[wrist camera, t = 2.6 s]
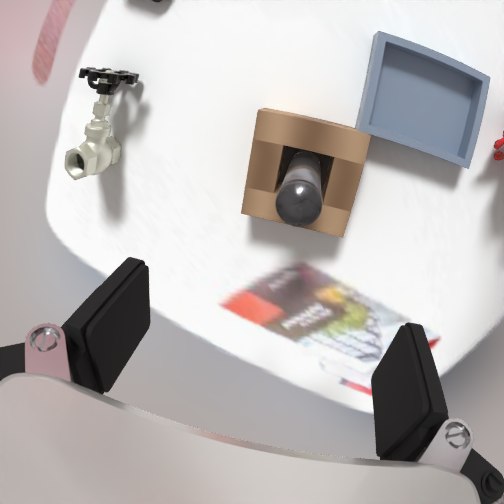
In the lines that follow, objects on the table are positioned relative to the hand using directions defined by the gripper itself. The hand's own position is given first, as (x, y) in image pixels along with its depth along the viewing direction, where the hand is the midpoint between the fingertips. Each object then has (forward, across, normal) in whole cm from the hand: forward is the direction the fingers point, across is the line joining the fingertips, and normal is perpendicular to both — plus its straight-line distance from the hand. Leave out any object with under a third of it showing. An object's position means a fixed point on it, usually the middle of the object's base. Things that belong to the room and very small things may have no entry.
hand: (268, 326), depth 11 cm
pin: (+24, 0, -1) cm, 24 cm away
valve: (+24, +22, -2) cm, 33 cm away
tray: (+23, -10, -11) cm, 28 cm away
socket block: (+24, 0, -1) cm, 24 cm away
